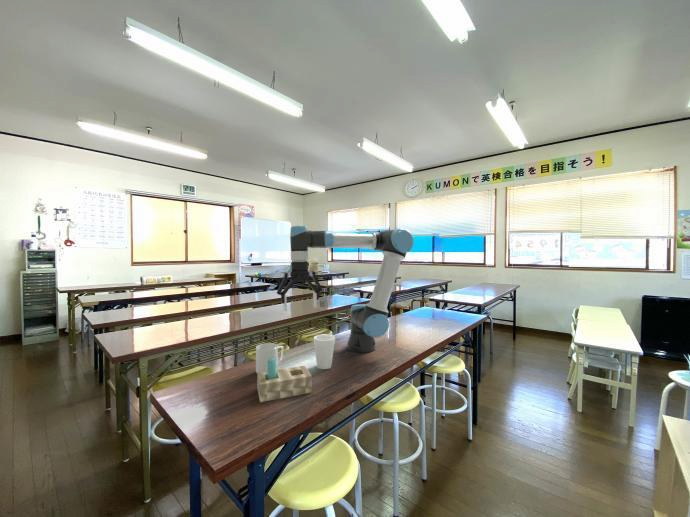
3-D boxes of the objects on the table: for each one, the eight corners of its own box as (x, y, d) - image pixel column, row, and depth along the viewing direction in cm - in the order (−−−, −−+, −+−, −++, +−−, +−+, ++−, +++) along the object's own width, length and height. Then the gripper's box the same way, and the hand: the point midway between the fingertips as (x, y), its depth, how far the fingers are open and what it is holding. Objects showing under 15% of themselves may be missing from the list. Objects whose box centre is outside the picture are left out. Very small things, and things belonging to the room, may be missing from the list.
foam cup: (309, 366, 125) (309, 337, 125) (324, 360, 132) (324, 333, 132) (324, 372, 119) (324, 342, 118) (339, 366, 125) (339, 337, 125)
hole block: (304, 380, 111) (304, 365, 111) (311, 392, 102) (311, 376, 102) (257, 388, 104) (257, 372, 104) (260, 402, 95) (260, 384, 95)
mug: (261, 379, 112) (261, 351, 112) (252, 372, 119) (252, 346, 118) (288, 371, 120) (288, 345, 120) (278, 364, 127) (278, 340, 126)
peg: (275, 390, 103) (275, 357, 103) (276, 394, 101) (276, 360, 100) (267, 391, 102) (267, 358, 102) (268, 395, 99) (268, 361, 99)
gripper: (323, 260, 133) (324, 304, 134) (269, 261, 123) (270, 310, 123) (328, 260, 126) (329, 307, 127) (272, 262, 116) (273, 313, 117)
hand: (300, 308), depth 125 cm, fingers open, 13 cm apart
